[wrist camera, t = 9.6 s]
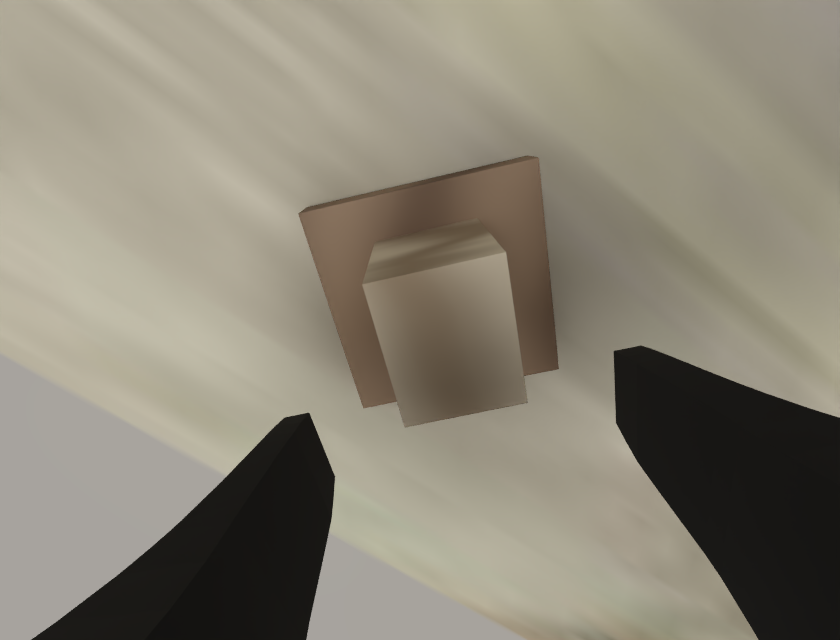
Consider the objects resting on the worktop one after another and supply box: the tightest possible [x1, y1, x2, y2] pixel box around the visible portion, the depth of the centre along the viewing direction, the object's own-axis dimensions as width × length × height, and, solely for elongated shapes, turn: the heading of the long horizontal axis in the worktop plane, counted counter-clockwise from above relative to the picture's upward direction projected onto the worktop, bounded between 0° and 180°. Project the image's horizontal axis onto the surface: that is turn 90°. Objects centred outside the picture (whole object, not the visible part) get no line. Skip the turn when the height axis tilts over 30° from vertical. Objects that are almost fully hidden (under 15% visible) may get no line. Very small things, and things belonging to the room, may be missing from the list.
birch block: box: [362, 218, 528, 427], centre depth 15 cm, size 4×5×5 cm
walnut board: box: [299, 156, 559, 408], centre depth 18 cm, size 9×9×2 cm
